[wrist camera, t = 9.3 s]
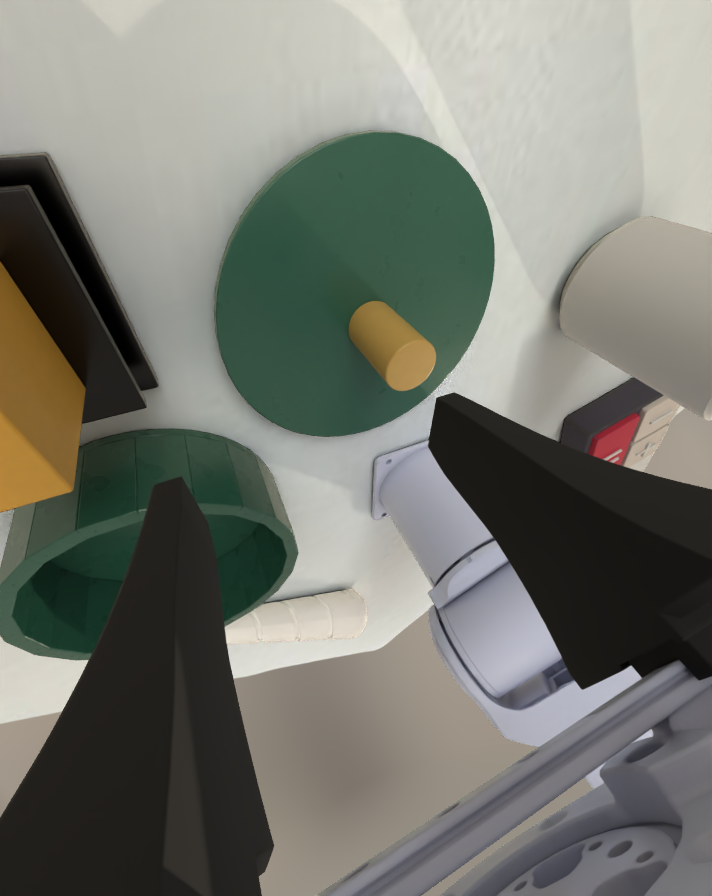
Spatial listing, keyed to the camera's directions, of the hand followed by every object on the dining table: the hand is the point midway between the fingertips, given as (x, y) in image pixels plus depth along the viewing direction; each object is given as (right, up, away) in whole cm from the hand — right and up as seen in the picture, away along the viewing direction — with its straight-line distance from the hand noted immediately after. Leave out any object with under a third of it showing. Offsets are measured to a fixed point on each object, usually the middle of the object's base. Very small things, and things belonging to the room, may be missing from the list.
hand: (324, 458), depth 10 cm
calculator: (+28, +2, +31) cm, 41 cm away
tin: (-11, -4, +12) cm, 16 cm away
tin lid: (+1, +7, +8) cm, 10 cm away
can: (+17, +11, +14) cm, 24 cm away
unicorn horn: (-9, -15, +25) cm, 31 cm away
